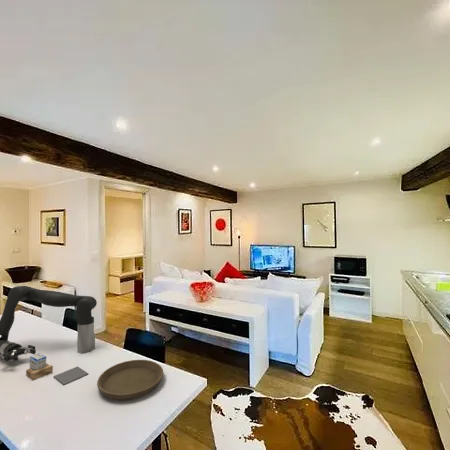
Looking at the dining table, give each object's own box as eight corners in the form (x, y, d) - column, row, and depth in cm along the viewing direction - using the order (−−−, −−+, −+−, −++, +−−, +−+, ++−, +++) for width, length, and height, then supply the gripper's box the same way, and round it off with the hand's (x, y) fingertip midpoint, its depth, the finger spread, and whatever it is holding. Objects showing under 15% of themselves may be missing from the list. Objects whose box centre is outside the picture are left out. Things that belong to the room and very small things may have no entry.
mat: (77, 367, 144) (77, 366, 144) (88, 374, 137) (88, 373, 137) (53, 377, 134) (53, 376, 134) (63, 385, 127) (63, 384, 127)
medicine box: (29, 372, 139) (29, 356, 139) (38, 368, 143) (38, 352, 143) (36, 376, 135) (37, 359, 135) (46, 372, 139) (46, 356, 139)
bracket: (46, 367, 144) (46, 361, 144) (52, 372, 139) (52, 365, 139) (26, 374, 136) (26, 368, 136) (32, 380, 131) (32, 373, 131)
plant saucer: (175, 377, 135) (175, 369, 135) (126, 413, 108) (126, 402, 109) (135, 362, 151) (135, 354, 151) (83, 390, 124) (83, 380, 124)
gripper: (-5, 348, 145) (11, 354, 137) (24, 338, 157) (40, 343, 150) (-5, 361, 144) (11, 368, 137) (24, 350, 157) (40, 356, 150)
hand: (26, 355), depth 144 cm, fingers open, 8 cm apart
